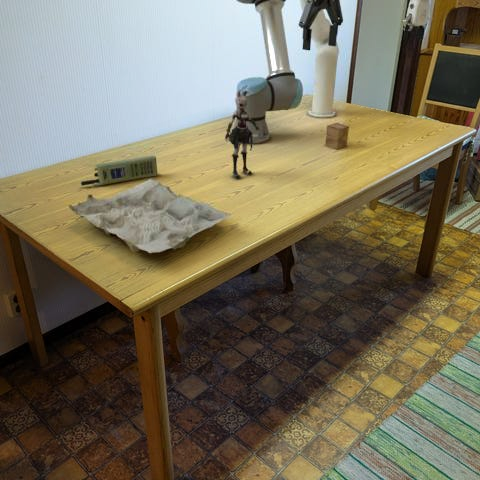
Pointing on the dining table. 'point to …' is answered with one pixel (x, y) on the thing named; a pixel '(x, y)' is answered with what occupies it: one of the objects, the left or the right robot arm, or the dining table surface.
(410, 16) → the right robot arm
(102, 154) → the dining table surface
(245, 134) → the figurine
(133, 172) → the handheld radio
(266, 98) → the left robot arm
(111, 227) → the grey bumpy flat piece
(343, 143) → the block
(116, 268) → the dining table surface
